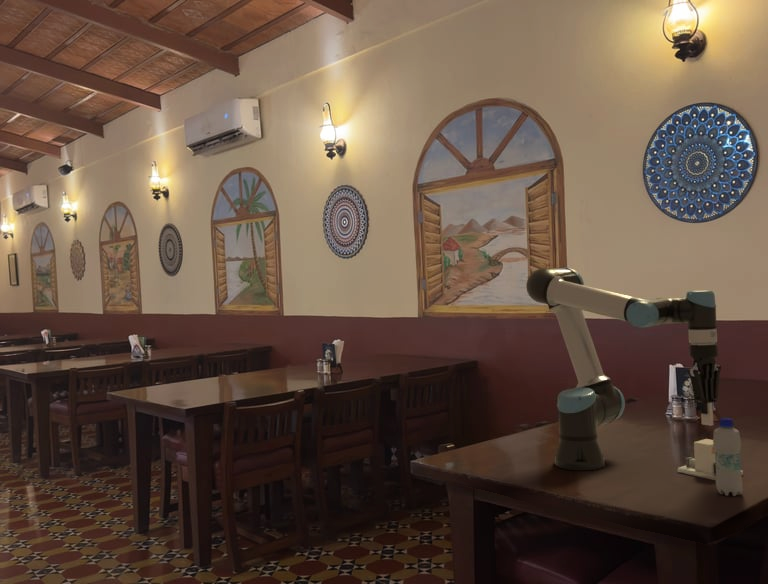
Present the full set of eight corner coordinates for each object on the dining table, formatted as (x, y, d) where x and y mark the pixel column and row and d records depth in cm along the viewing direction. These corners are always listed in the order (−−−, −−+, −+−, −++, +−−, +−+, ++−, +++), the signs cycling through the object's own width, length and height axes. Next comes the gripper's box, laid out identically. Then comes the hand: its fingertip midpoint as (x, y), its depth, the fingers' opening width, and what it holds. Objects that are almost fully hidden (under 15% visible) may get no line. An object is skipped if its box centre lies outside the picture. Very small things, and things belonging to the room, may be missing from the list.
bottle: (735, 489, 186) (731, 414, 186) (749, 496, 180) (745, 419, 179) (710, 490, 186) (706, 416, 186) (723, 498, 179) (719, 421, 179)
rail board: (722, 481, 193) (721, 469, 193) (677, 471, 205) (677, 460, 205) (743, 475, 198) (742, 463, 198) (698, 465, 210) (697, 454, 210)
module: (711, 473, 198) (710, 445, 198) (695, 469, 202) (693, 442, 202) (724, 469, 201) (722, 441, 201) (707, 465, 205) (706, 438, 205)
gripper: (701, 346, 195) (705, 430, 195) (728, 342, 201) (732, 422, 202) (677, 345, 201) (682, 426, 201) (704, 341, 208) (709, 419, 208)
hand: (707, 424), depth 201 cm, fingers closed
